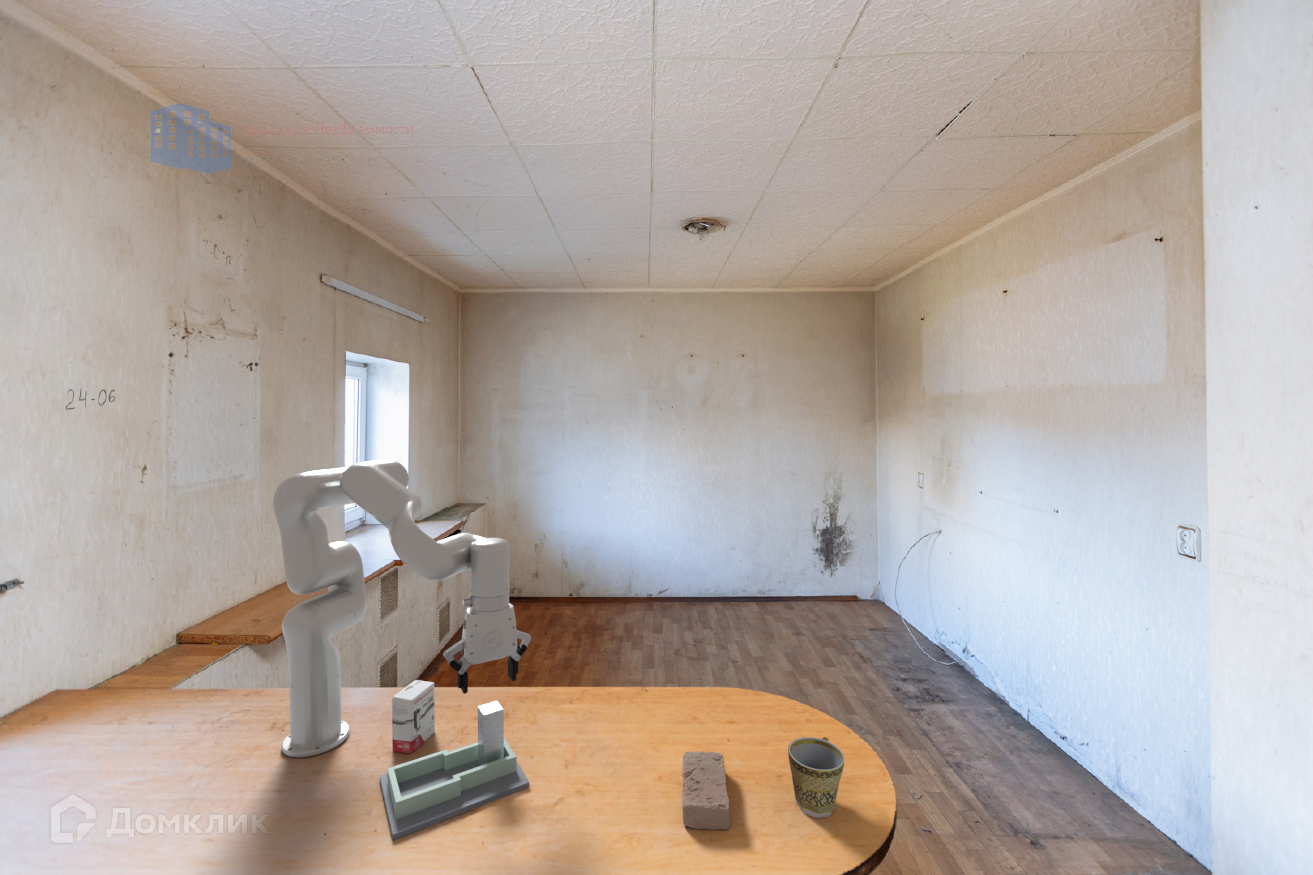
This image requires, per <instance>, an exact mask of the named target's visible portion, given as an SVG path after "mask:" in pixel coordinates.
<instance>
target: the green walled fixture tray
mask: <svg viewBox="0 0 1313 875" xmlns="http://www.w3.org/2000/svg"><path fill="white" fill-rule="evenodd" d="M379 782H380V783H379V784H380V787H381V793H382V797H383V801H384V806H385V811H386V815H387V816H386V817H387V819H388V824H389V828H390V833H391V838H392V841H395V840H398V839H401V838H403V837H406V836H408V835H410V834H413V833H416V832H418V831H422V830H423V829H426V828H429V827H431V826H434V825H436V824H439V823H441V822H443V821H447V820H449V819H451V818H454V817H456V816H459V815H461V814H465V813H467V812H469V811H473V810H475V809H477V808H480V807H482V806H484V805H487V804H490V803H492V802H495V801H498V800H500V799H503V798H505V797H507V796H510V795H513V794H516V793H518V792H521V791H523V790H525V789H528V788H530V780H529V779H528V778H527V776H526V774H525V773H524V771H523V770H522V768H521V766H520V765H519V763H518V762H517V754H515V752H514V750H513V749H512V747H511V746H510V744H509V742H508V741H507V739H506V738H505V737H504V758H502V759H499V760H496V761H493V762H490V763H487V764H484V765H482V766H479V764H478V741H477V742H474V743H470V744H467V745H465V746H462V747H458V748H456V749H451V750H450V751H449V750H448V749H444V750H440V751H436V752H434V753H431V754H427V755H424V756H422V757H418V758H416V759H413V760H409V761H405V762H403V763H399V764H396V765H394V766H391V767H387V772H386V773H383V774H379Z"/></svg>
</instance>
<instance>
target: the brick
mask: <svg viewBox="0 0 1313 875" xmlns="http://www.w3.org/2000/svg"><path fill="white" fill-rule="evenodd" d="M681 764H682V765H681V766H682V767H681V768H682V793H681V798H682V800H681V801H682V802H681V804H682V807H681V808H682V821H683V822H682V823H683V824H682V825H684V826H685V827H689V828H691V829H695V830H710V831H715V830H723V831H724V830H728V829H729V828H730V825H731V819H730V808H731V807H730V803H731V802H730V799H729V795H728V789H727V788H728V787H727V776H726V768H725V759H724V756H723V754H722V753H720V752H716V751H706V752H704V751H685V752H684V753H683V755H682V763H681Z"/></svg>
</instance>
